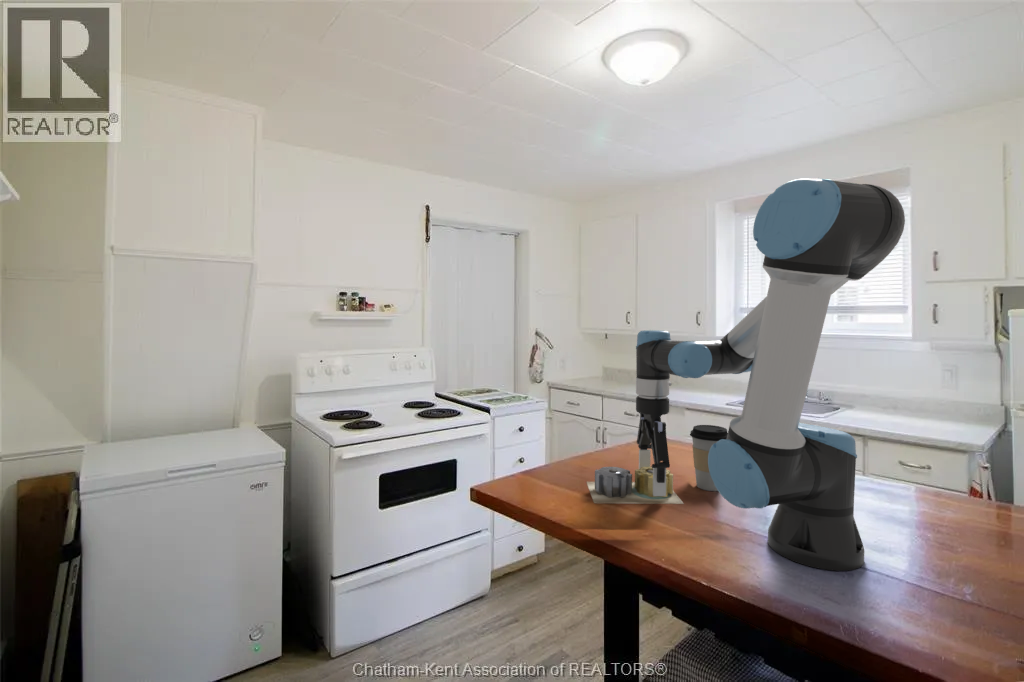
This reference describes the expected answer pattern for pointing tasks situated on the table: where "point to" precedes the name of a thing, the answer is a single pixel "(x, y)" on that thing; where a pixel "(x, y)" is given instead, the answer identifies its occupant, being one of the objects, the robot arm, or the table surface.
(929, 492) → the table surface
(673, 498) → the gear board
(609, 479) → the gear
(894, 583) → the table surface
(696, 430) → the coffee cup
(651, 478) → the gear
